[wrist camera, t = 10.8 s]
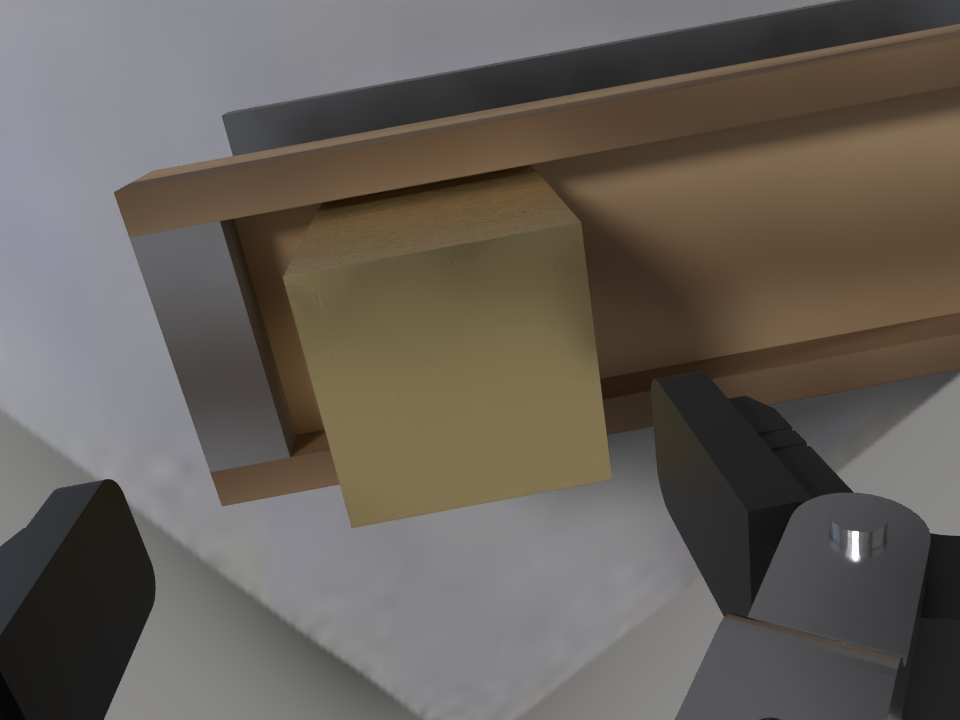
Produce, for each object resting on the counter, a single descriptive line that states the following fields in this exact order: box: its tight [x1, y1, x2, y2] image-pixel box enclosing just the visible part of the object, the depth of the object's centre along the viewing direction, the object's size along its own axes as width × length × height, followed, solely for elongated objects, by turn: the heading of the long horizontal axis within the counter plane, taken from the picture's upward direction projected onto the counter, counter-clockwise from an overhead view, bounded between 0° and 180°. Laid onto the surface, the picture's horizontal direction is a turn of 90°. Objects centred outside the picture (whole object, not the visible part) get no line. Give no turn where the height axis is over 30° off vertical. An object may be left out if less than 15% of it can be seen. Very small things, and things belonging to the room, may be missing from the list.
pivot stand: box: [222, 0, 960, 156], centre depth 26 cm, size 9×30×10 cm, turn 99°
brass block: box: [283, 165, 612, 528], centre depth 17 cm, size 5×5×6 cm
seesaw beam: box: [114, 24, 960, 506], centre depth 20 cm, size 8×30×3 cm, turn 99°
